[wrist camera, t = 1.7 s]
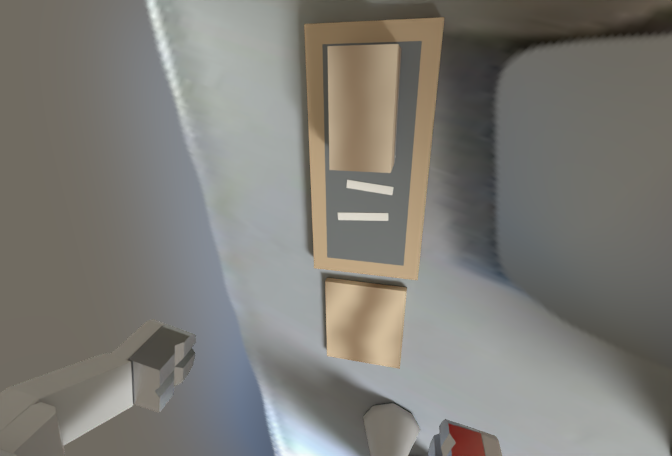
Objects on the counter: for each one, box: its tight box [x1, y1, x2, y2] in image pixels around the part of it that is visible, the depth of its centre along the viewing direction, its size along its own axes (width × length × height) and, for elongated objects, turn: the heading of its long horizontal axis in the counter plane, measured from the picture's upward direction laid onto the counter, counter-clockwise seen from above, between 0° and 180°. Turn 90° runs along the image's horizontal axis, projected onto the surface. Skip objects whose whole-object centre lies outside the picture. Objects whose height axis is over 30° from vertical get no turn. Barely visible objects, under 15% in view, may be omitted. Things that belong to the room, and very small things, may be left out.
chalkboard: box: [304, 17, 444, 280], centre depth 32 cm, size 11×23×2 cm, turn 1°
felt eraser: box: [327, 44, 402, 173], centre depth 27 cm, size 5×9×4 cm, turn 1°
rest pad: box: [325, 278, 407, 369], centre depth 40 cm, size 9×11×1 cm
